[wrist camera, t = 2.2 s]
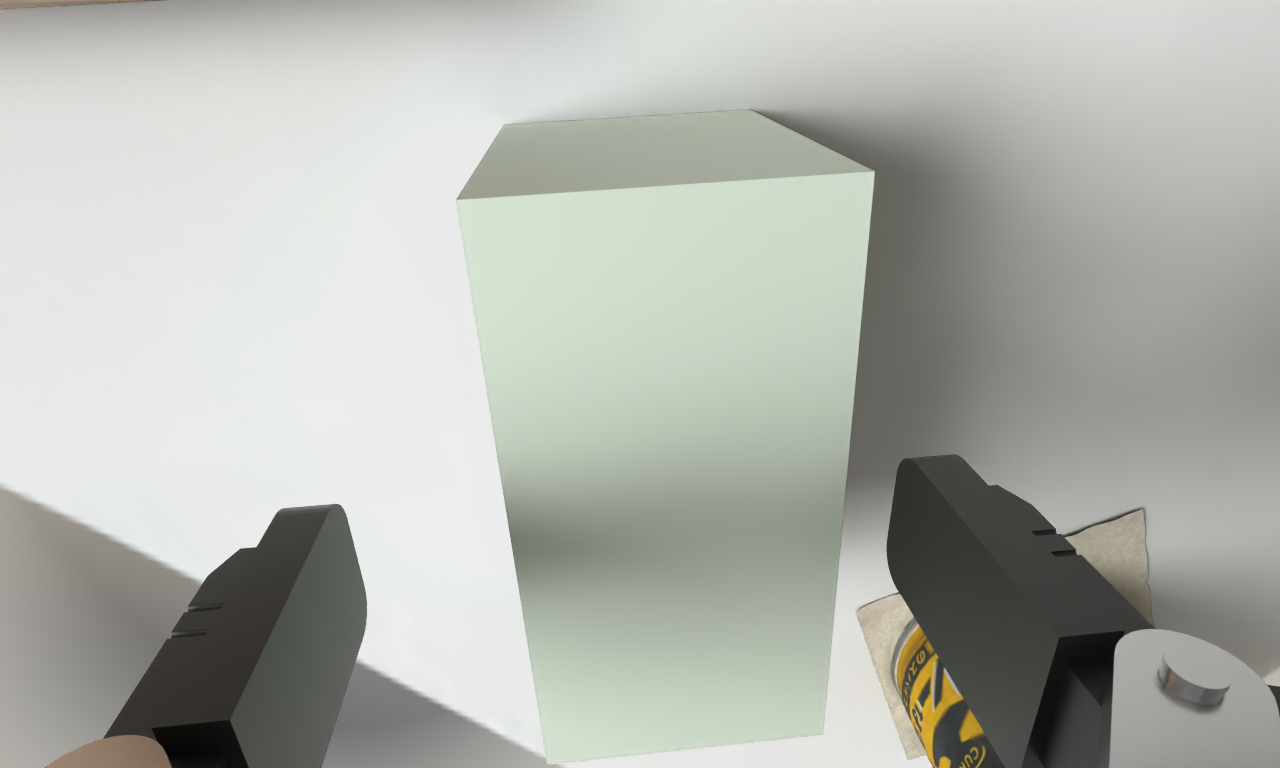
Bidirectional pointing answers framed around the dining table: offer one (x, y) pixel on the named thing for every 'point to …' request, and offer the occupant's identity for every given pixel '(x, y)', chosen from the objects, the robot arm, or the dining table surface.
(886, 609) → the condiment
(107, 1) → the ledge
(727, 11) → the dining table surface
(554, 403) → the mint green tall box
